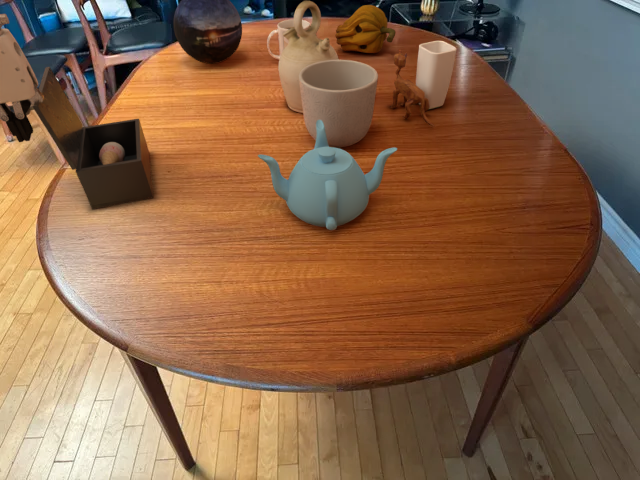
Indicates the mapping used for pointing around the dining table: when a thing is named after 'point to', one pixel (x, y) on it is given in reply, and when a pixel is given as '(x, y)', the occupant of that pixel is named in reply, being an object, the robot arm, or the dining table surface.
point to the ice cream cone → (111, 153)
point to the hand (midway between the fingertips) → (25, 137)
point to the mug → (282, 40)
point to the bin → (114, 165)
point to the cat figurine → (408, 91)
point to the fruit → (364, 31)
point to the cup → (435, 70)
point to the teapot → (327, 183)
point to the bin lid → (59, 117)
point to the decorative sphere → (208, 29)
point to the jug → (302, 53)
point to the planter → (338, 99)
